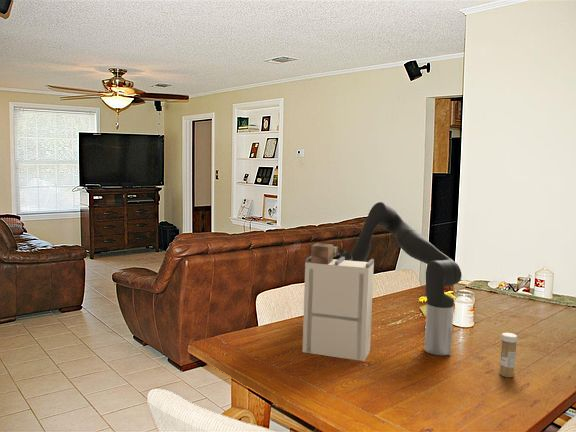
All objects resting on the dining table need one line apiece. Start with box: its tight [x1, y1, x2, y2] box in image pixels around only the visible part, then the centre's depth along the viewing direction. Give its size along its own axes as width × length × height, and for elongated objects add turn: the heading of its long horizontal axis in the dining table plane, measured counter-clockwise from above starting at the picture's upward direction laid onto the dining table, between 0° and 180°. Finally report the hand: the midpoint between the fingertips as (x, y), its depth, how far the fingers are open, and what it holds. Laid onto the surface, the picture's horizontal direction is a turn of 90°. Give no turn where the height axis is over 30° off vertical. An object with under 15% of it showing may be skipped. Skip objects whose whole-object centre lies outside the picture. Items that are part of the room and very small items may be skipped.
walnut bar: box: [310, 242, 339, 264], centre depth 185 cm, size 6×22×6 cm, turn 162°
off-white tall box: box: [302, 255, 375, 362], centre depth 180 cm, size 22×11×33 cm, turn 72°
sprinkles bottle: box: [498, 332, 518, 378], centre depth 164 cm, size 5×5×14 cm
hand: (330, 249), depth 190 cm, fingers open, 7 cm apart
